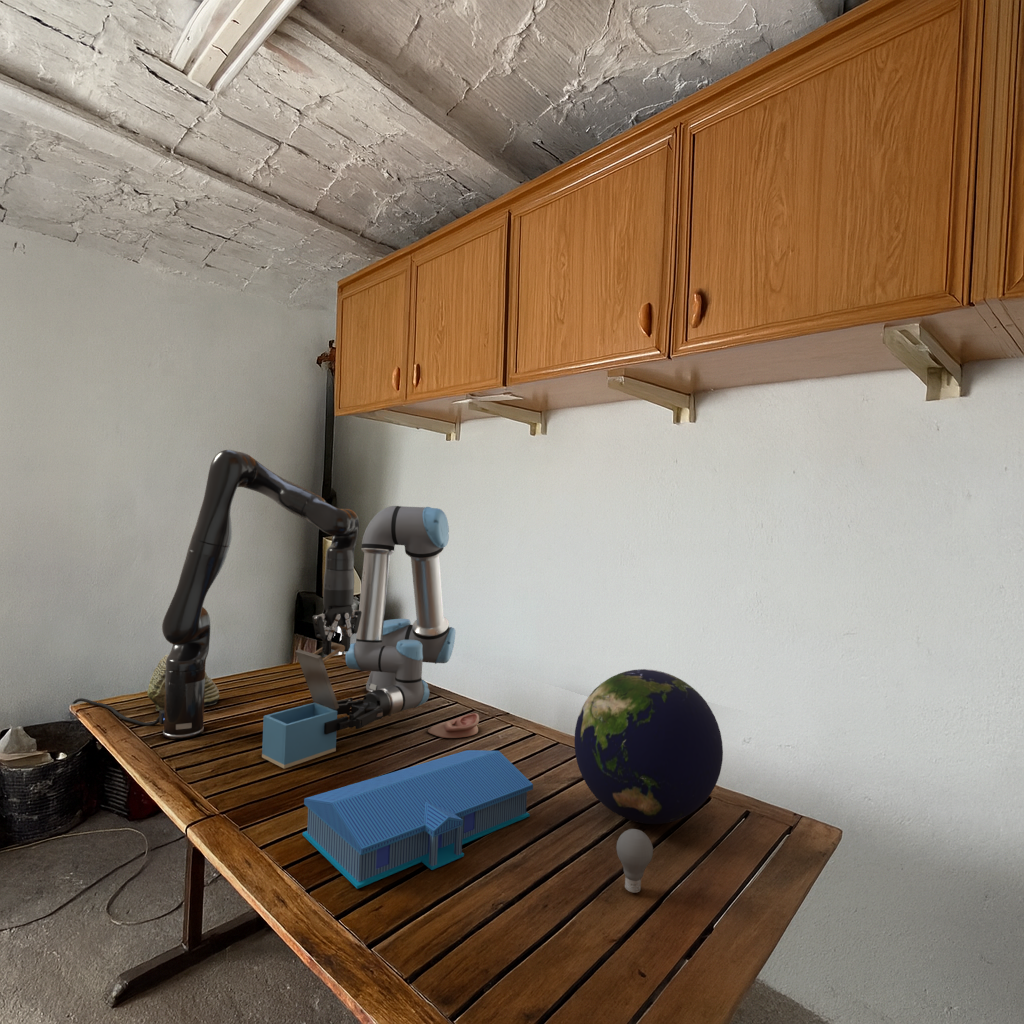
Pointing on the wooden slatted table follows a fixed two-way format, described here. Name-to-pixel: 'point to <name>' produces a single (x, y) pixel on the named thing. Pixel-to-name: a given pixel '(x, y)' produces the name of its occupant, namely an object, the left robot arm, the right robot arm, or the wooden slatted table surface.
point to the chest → (298, 735)
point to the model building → (416, 814)
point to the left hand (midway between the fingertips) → (336, 652)
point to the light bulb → (634, 857)
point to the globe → (648, 746)
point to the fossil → (158, 687)
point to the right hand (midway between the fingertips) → (312, 723)
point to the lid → (319, 675)
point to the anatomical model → (457, 727)
